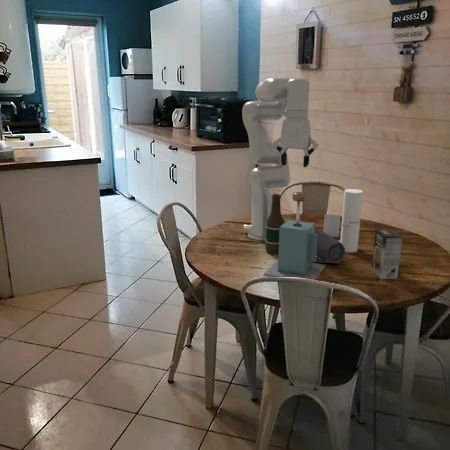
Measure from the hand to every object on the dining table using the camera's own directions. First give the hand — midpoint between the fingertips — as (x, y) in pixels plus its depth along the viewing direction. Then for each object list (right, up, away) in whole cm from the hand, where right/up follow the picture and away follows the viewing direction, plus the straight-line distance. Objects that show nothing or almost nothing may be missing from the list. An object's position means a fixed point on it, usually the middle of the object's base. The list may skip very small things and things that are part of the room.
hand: (294, 165), depth 166 cm
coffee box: (+33, -40, +1) cm, 51 cm away
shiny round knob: (+1, -26, 0) cm, 26 cm away
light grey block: (+23, -27, +44) cm, 56 cm away
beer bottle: (-5, -33, +24) cm, 41 cm away
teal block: (+1, -38, +4) cm, 39 cm away
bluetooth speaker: (+13, -34, +19) cm, 41 cm away
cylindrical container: (+27, -32, +26) cm, 49 cm away
